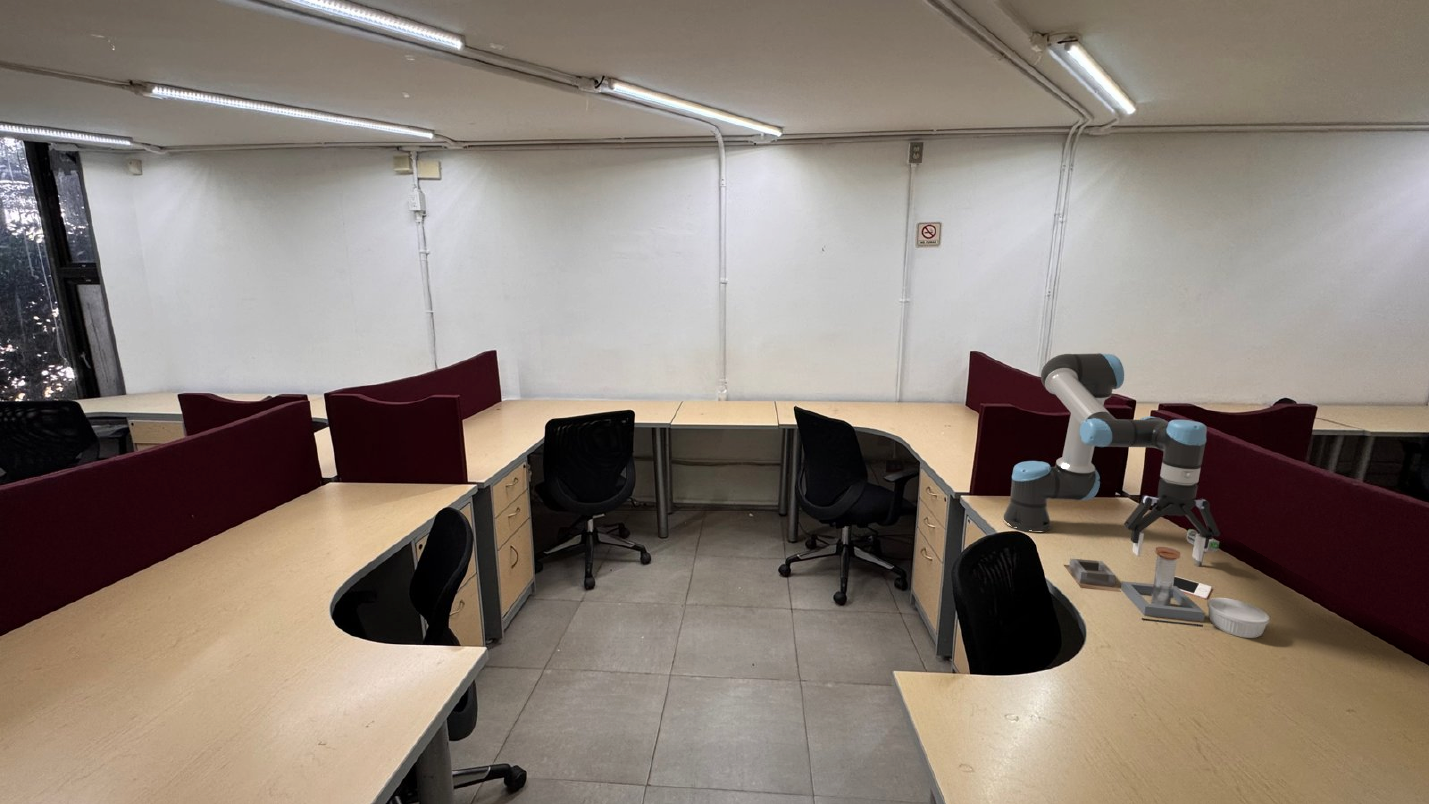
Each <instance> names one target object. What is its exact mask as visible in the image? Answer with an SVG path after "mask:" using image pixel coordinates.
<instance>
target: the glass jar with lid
mask: <svg viewBox="0 0 1429 804" xmlns="http://www.w3.org/2000/svg"><path fill="white" fill-rule="evenodd" d="M1155 554H1156V563H1155V569H1154V576H1153V583H1152V584H1153V589H1152V595H1151V598H1150V604H1153V605H1163V606H1171V602H1172V597H1171V596H1172V590H1173V583H1174V576H1176V575H1175V574H1176V570H1177V568H1176V567H1177V562H1178V559H1180V558H1181V552H1180V551H1179V550H1176V549H1175V548H1172V547H1166V546H1157V547H1155Z"/></svg>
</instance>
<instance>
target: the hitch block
mask: <svg viewBox="0 0 1429 804" xmlns="http://www.w3.org/2000/svg"><path fill="white" fill-rule="evenodd" d="M1063 567H1064V568H1065V570H1066V571H1067V572H1068V573H1069V575H1070V576H1071V577H1072V578H1073V580H1074V581H1075V583H1077V585H1078V586H1079V588H1080V589H1089V590H1096V591H1097V590H1098V591H1106V592H1107V591H1108V592H1116V593H1122V590H1121V589H1119V588H1118V586H1117V585H1116V584H1115V581H1116V574H1115V573H1114V572H1113V570H1111V569H1110V567H1108V566H1107V565H1106V564H1105V562H1104V561H1103V560H1093V559H1092V560H1091V559H1081V558H1080V559H1079V558H1070V560H1069V564H1063Z"/></svg>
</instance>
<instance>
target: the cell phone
mask: <svg viewBox="0 0 1429 804" xmlns="http://www.w3.org/2000/svg"><path fill="white" fill-rule="evenodd" d="M1173 586H1177V587H1178V588H1179V589H1180V590H1181V591H1182V592H1183V593H1184V594H1185V595H1186V594H1187V595H1189V596H1192V597H1194V598H1195V597H1196V598H1199V599H1203V600H1207V599H1208V597H1209V595H1210V593H1211V591H1212V589H1213V588H1212V586H1211V585H1207V584H1205V583H1200V582H1197V581H1194V580H1190V579H1187V578H1184V577H1183V578H1182V577H1180V576H1176V575H1175V576H1174V583H1173Z"/></svg>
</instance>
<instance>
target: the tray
mask: <svg viewBox="0 0 1429 804" xmlns="http://www.w3.org/2000/svg"><path fill="white" fill-rule="evenodd" d="M1120 586H1121V587H1120V591H1121V592H1123V594H1125V596H1126V597H1127V598H1128V599H1129V600H1130V601H1131V602H1132V603H1133V604H1134V606H1135V607H1136V608H1137V609H1138V610H1139V611H1140V613H1141V614H1142V615H1143V616H1144V617H1145V616H1146V617H1154V618H1155V617H1156V618H1165V619H1166V618H1167V619H1173V620H1174V619H1176V620H1182V621H1192V622H1201V623H1203V622H1205V617H1206V612H1205V611H1204V609H1202V608H1200V606H1199V605H1197V604H1196V603H1195V602H1194V601H1193V600H1192V599H1191V598H1190V597H1188V596H1187V595H1186V594H1185V593H1183V592H1182V591H1181V590H1180V589H1179V588H1178V587H1177V586H1173V590H1172V596H1171V599H1172V598H1173V600H1174V601H1175V602H1176V603H1177V604H1178V605H1179V606H1171V605H1170V606H1163V605H1153V604H1151V603H1149V602H1148V601H1147V600H1146V599H1145V597H1143V596H1142V595H1148V596H1149V595H1150V596H1152V589H1153V583H1145V582H1136V581H1121V585H1120ZM1144 617H1142V618H1141V619H1142V620H1143V621H1146V622H1152V623H1153V622H1155V623H1163V624H1164V623H1166V624H1172V625H1181V626H1182V625H1183V626H1189V627H1191V626H1192V627H1201V628H1203V627H1204V624H1198V623H1190V622H1180V621H1173V620H1172V621H1170V620H1163V619H1162V620H1161V619H1154V618H1153V619H1151V618H1146V617H1145V618H1144Z"/></svg>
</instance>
